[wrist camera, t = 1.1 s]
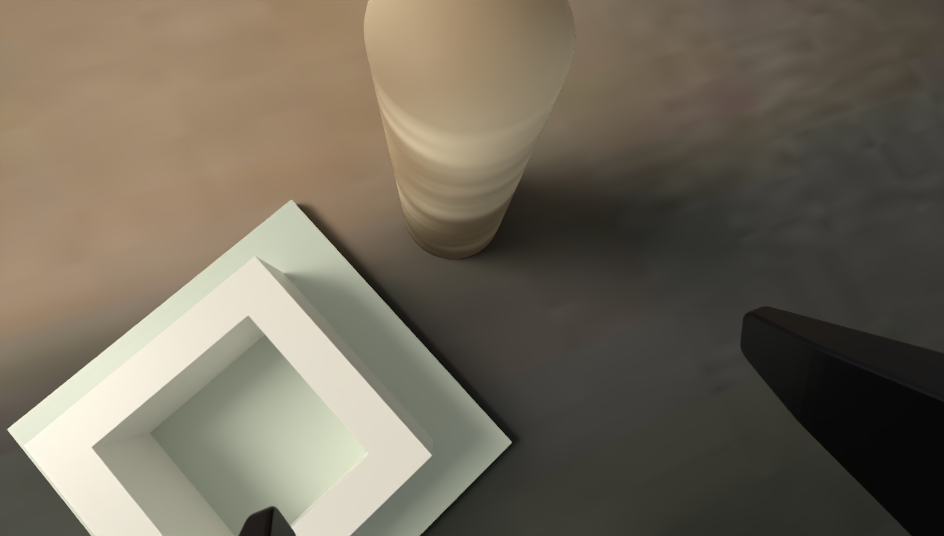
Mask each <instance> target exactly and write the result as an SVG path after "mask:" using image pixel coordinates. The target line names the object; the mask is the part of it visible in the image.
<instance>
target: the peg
mask: <svg viewBox="0 0 944 536" xmlns="http://www.w3.org/2000/svg"><path fill="white" fill-rule="evenodd" d="M364 38H365V46H366V51H367V55H368V59H369V64H370V68H371V73H372V77H373V82H374V86H375V90H376V95H377V99H378V104H379V108H380V112H381V117H382V121H383V126H384V130H385V134H386V139H387V143H388V148H389V152H390V156H391V161H392V165H393V170H394V174H395V178H396V183H397V187H398V192H399V196H400V200H401V205H402V209H403V214H404V218H405V222H406V226H407V229H408V231H409V233H410V235H411V237H412V238H413V240H414V241H415V242H416V243H417V244H418V245H419V246H420V247H421V248H422V249H424V250H425V251H426V252H428V253H430V254H432V255H434V256H437V257H440V258H444V259H461V258H466V257H470V256H472V255H474V254H476V253H478V252H480V251H481V250H483V249H484V248H485V247H486V246H487V245H488V244H489V243H490V242H491V241H492V239H493V238H494V236H495V234H496V232H497V230H498V228H499V226H500V224H501V221H502V219H503V217H504V215H505V212H506V210H507V208H508V206H509V204H510V201H511V199H512V197H513V195H514V192H515V190H516V188H517V186H518V184H519V181H520V179H521V177H522V175H523V172H524V170H525V168H526V166H527V163H528V161H529V159H530V157H531V155H532V152H533V150H534V148H535V146H536V143H537V141H538V139H539V137H540V135H541V132H542V130H543V128H544V126H545V123H546V121H547V119H548V117H549V114H550V112H551V110H552V108H553V106H554V103H555V101H556V99H557V97H558V94H559V92H560V90H561V88H562V86H563V83H564V81H565V79H566V77H567V74H568V72H569V69H570V67H571V64H572V61H573V56H574V52H575V41H576V35H575V24H574V19H573V15H572V11H571V9H570V6H569V3H568V1H567V0H369V2H368V5H367V8H366V13H365V20H364Z"/></svg>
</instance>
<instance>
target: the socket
mask: <svg viewBox="0 0 944 536" xmlns="http://www.w3.org/2000/svg"><path fill="white" fill-rule="evenodd" d="M7 430H8V431H9V432H10V434H11V435H12V436H13V437H14V439H15V440H16V441H17V442H18V444H19V445H20V446H21V448H22V449H23V450H24V451H25V453H26V454H27V455H28V456H29V458H30V459H31V460H32V461H33V463H34V464H35V465H36V466H37V468H38V469H39V470H40V471H41V473H42V474H43V475H44V476H45V478H46V479H47V480H48V481H49V483H50V484H51V485H52V487H53V488H54V489H55V490H56V492H57V493H58V494H59V495H60V497H61V498H62V499H63V500H64V502H65V503H66V504H67V505H68V507H69V508H70V509H71V510H72V512H73V513H74V514H75V515H76V517H77V518H78V519H79V521H80V522H81V523H82V524H83V526H84V527H85V528H86V529H87V531H88V532H89V533H90V534H91V536H238V535H239V533H240V531H241V529H242V527H243V525H244V523H245V521H246V519H247V518H248V517H249V516H250V515H251V514H253V513H255V512H257V511H260V510H262V509H265V508H267V507H269V506H275V507H277V508H278V509H279V511H280V512H281V513H282V515H283V516H284V518H285V519H286V521H287V522H288V523H289V525H290V526H291V528H292V529H293V530H294V532H295V534H296V536H420V535H421V534H422V533H423V532H424V531H425V530H426V529H427V528H428V527H429V526H430V525H431V524H432V523H433V522H434V521H435V520H436V519H437V518H438V517H439V516H440V515H441V514H442V513H443V512H444V511H445V510H446V509H447V508H448V507H449V506H450V505H451V504H452V503H453V502H454V501H455V500H456V499H457V497H458V496H459V495H460V494H461V493H462V492H463V491H464V490H465V489H466V488H467V487H468V486H469V485H470V484H471V483H472V482H473V481H474V480H475V479H476V478H477V477H478V476H479V475H480V474H481V473H482V472H483V471H484V470H485V469H486V468H487V467H488V466H489V465H490V464H491V463H492V462H493V461H494V460H495V459H496V458H497V457H498V456H499V455H500V454H501V453H502V452H503V451H504V450H505V449H506V448H507V447H508V446H509V445H510V444H511V443H512V442H511V441H510V440H509V438H508V437H507V436H506V435H505V434H504V433H503V432H502V431H501V430H500V429H499V427H498V426H497V425H496V424H495V423H494V422H493V421H492V420H491V419H490V418H489V416H488V415H487V414H486V413H485V412H484V411H483V410H482V409H481V408H480V407H479V405H478V404H477V403H476V402H475V401H474V400H473V399H472V398H471V397H470V396H469V394H468V393H467V392H466V391H465V390H464V389H463V388H462V387H461V386H460V385H459V383H458V382H457V381H456V380H455V379H454V378H453V377H452V376H451V375H450V374H449V372H448V371H447V370H446V369H445V368H444V367H443V366H442V365H441V364H440V363H439V361H438V360H437V359H436V358H435V357H434V356H433V355H432V354H431V353H430V352H429V350H428V349H427V348H426V347H425V346H424V345H423V344H422V343H421V342H420V341H419V339H418V338H417V337H416V336H415V335H414V334H413V333H412V332H411V331H410V330H409V328H408V327H407V326H406V325H405V324H404V323H403V322H402V321H401V320H400V319H399V317H398V316H397V315H396V314H395V313H394V312H393V311H392V310H391V309H390V308H389V306H388V305H387V304H386V303H385V302H384V301H383V300H382V299H381V298H380V297H379V295H378V294H377V293H376V292H375V291H374V290H373V289H372V288H371V287H370V286H369V284H368V283H367V282H366V281H365V280H364V279H363V278H362V277H361V276H360V275H359V273H358V272H357V271H356V270H355V269H354V268H353V267H352V266H351V265H350V264H349V262H348V261H347V260H346V259H345V258H344V257H343V256H342V255H341V254H340V253H339V251H338V250H337V249H336V248H335V247H334V246H333V245H332V244H331V243H330V242H329V240H328V239H327V238H326V237H325V236H324V235H323V234H322V233H321V232H320V231H319V229H318V228H317V227H316V226H315V225H314V224H313V223H312V222H311V221H310V220H309V218H308V217H307V216H306V215H305V214H304V213H303V212H302V211H301V210H300V209H299V207H298V206H297V205H296V204H295V203H294V202H293V201H292V200H290V201H289V202H288V203H286V204H285V205H284V206H283V207H282V208H280V209H279V210H278V211H277V212H275V213H274V214H273V215H272V216H270V217H269V218H268V219H267V220H265V221H264V222H263V223H262V224H261V225H259V226H258V227H257V228H256V229H254V230H253V231H252V232H251V233H249V234H248V235H247V236H246V237H244V238H243V239H242V240H241V241H240V242H238V243H237V244H236V245H235V246H233V247H232V248H231V249H230V250H228V251H227V252H226V253H225V254H223V255H222V256H221V257H220V258H218V259H217V260H216V261H215V262H214V263H212V264H211V265H210V266H209V267H207V268H206V269H205V270H204V271H202V272H201V273H200V274H199V275H197V276H196V277H195V278H194V279H193V280H191V281H190V282H189V283H188V284H186V285H185V286H184V287H183V288H181V289H180V290H179V291H178V292H176V293H175V294H174V295H173V296H172V297H170V298H169V299H168V300H167V301H165V302H164V303H163V304H162V305H160V306H159V307H158V308H157V309H155V310H154V311H153V312H152V313H151V314H149V315H148V316H147V317H146V318H144V319H143V320H142V321H141V322H139V323H138V324H137V325H136V326H134V327H133V328H132V329H131V330H130V331H128V332H127V333H126V334H125V335H123V336H122V337H121V338H120V339H118V340H117V341H116V342H115V343H113V344H112V345H111V346H110V347H109V348H107V349H106V350H105V351H104V352H102V353H101V354H100V355H99V356H97V357H96V358H95V359H94V360H92V361H91V362H90V363H89V364H88V365H86V366H85V367H84V368H83V369H81V370H80V371H79V372H78V373H76V374H75V375H74V376H73V377H71V378H70V379H69V380H68V381H67V382H65V383H64V384H63V385H62V386H60V387H59V388H58V389H57V390H55V391H54V392H53V393H52V394H50V395H49V396H48V397H47V398H46V399H44V400H43V401H42V402H41V403H39V404H38V405H37V406H36V407H34V408H33V409H32V410H31V411H29V412H28V413H27V414H26V415H25V416H23V417H22V418H21V419H20V420H18V421H17V422H16V423H15V424H13V425H12V426H11V427H10V428H8V429H7Z"/></svg>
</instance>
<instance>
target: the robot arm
mask: <svg viewBox="0 0 944 536" xmlns="http://www.w3.org/2000/svg"><path fill="white" fill-rule="evenodd" d="M741 350H742V352H743V354H744V356H745V358H746V359H747V360H748V361H749V363H750V364H751V365H752V366H753V367H754V369H755V370H756V371H757V372H758V373H759V375H760V376H761V377H762V378H763V380H764V381H765V382H766V383H767V384H768V386H769V387H770V388H771V389H772V391H773V392H774V393H775V394H776V395H777V397H778V398H779V399H780V400H781V402H782V403H783V404H784V405H785V406H786V408H787V409H788V410H789V411H790V412H791V413H792V415H793V416H794V417H795V418H796V419H797V420H798V421H799V423H800V424H801V425H802V426H803V427H804V428H805V429H806V430H807V431H808V432H809V433H810V434H811V435H812V436H813V437H814V438H815V439H816V440H817V441H818V442H819V443H820V444H821V445H822V446H823V447H824V448H825V449H826V450H827V451H828V452H829V453H830V454H831V455H832V456H833V457H834V458H835V459H836V460H837V461H838V462H839V463H840V464H841V465H842V466H843V467H844V468H845V469H846V470H847V471H848V472H849V473H850V474H851V475H852V476H853V477H854V478H855V479H856V480H857V481H858V482H859V483H860V484H861V485H862V486H863V487H864V488H865V489H866V490H867V491H868V492H869V493H870V494H871V495H872V496H873V497H874V498H875V499H876V500H877V501H878V502H879V503H880V504H881V505H882V506H883V507H884V508H885V509H886V510H887V511H888V512H889V513H890V514H891V515H892V516H893V517H894V518H895V519H896V520H897V521H898V523H899V524H900V525H901V526H902V527H903V528H904V529H905V530H906V531H907V532H908V533H909V534H910V535H911V536H944V353H941V352H937V351H934V350H930V349H926V348H922V347H919V346H915V345H911V344H907V343H903V342H900V341H896V340H892V339H888V338H885V337H881V336H877V335H873V334H870V333H866V332H862V331H858V330H855V329H851V328H847V327H843V326H840V325H836V324H832V323H828V322H825V321H821V320H817V319H813V318H810V317H806V316H802V315H798V314H795V313H791V312H787V311H783V310H780V309H776V308H772V307H766V306H765V307H760V308H758V309H755V310H753V311H750V312H748V313H746V314H745V316H744V317H743V324H742V334H741ZM238 536H296V534H295V532H294V530H293V529H292V528H291V526H290V525H289V523H288V522H287V521H286V519H285V518H284V516H283V515H282V513H281V512H280V511H279V509H278V508H277V507H275V506H269V507H267V508H265V509H262V510H260V511H257V512H255V513H253V514H251V515H250V516H249V517H248V518H247V519H246V521H245V523H244V525H243V527H242V529H241V531H240V533H239V535H238Z"/></svg>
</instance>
